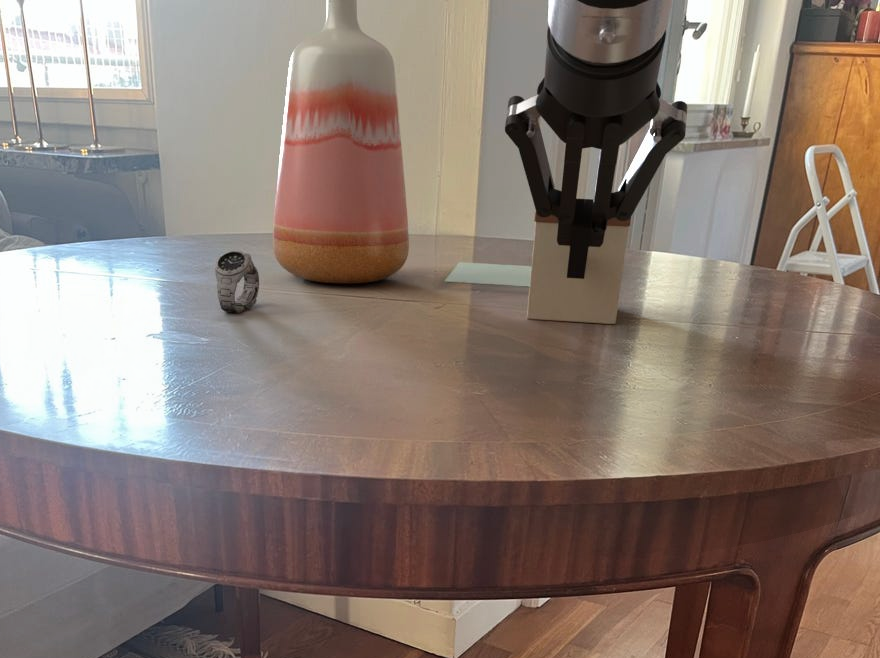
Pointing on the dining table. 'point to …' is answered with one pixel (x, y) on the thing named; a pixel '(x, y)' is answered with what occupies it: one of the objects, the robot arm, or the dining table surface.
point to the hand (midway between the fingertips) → (576, 264)
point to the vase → (341, 159)
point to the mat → (491, 274)
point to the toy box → (572, 295)
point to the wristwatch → (236, 281)
